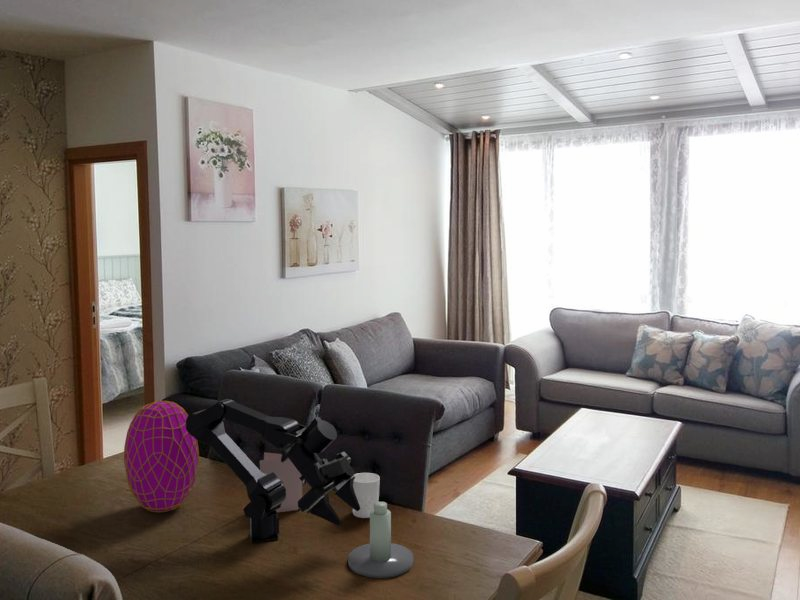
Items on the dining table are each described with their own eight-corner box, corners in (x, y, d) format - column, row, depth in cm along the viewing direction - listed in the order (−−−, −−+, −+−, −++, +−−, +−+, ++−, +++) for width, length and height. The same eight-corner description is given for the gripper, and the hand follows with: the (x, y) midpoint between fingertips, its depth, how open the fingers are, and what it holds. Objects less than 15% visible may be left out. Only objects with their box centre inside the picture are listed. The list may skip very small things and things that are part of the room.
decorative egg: (109, 517, 180) (105, 407, 177) (160, 492, 198) (157, 391, 195) (166, 528, 173) (163, 414, 170) (214, 501, 191) (212, 397, 188)
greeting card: (303, 508, 186) (303, 455, 185) (292, 518, 179) (291, 463, 178) (266, 503, 189) (265, 451, 188) (253, 513, 182) (252, 459, 181)
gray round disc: (357, 582, 145) (357, 577, 145) (341, 552, 160) (341, 547, 160) (422, 572, 150) (422, 566, 150) (401, 543, 164) (401, 538, 164)
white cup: (375, 520, 178) (375, 483, 177) (347, 517, 180) (347, 481, 179) (382, 508, 186) (382, 473, 185) (355, 506, 187) (354, 471, 186)
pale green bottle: (368, 561, 153) (368, 508, 152) (371, 551, 157) (371, 499, 156) (389, 562, 152) (389, 508, 151) (391, 552, 157) (391, 500, 156)
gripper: (308, 456, 150) (352, 512, 146) (348, 434, 167) (388, 484, 163) (279, 485, 153) (321, 540, 150) (321, 460, 170) (360, 510, 167)
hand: (349, 517), depth 157 cm, fingers open, 9 cm apart
